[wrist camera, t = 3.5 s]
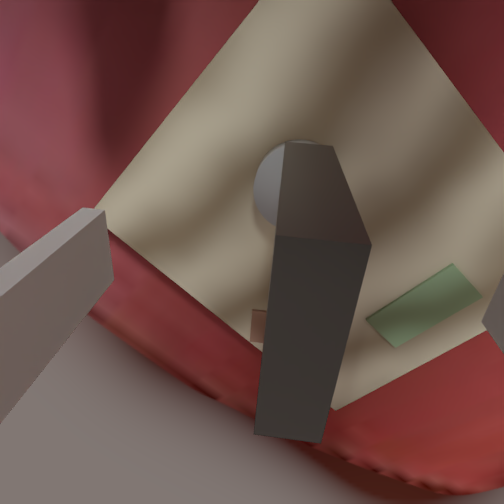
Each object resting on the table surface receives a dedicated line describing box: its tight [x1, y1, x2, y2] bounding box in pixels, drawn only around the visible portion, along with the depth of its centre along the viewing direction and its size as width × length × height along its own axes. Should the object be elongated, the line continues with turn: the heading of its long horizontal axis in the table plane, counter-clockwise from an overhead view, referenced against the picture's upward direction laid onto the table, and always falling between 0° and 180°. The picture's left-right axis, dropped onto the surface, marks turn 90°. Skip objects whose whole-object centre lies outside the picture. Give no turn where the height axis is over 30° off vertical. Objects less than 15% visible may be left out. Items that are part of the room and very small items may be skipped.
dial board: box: [94, 0, 504, 411], centre depth 22 cm, size 22×18×2 cm
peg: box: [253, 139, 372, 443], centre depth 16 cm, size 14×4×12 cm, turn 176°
